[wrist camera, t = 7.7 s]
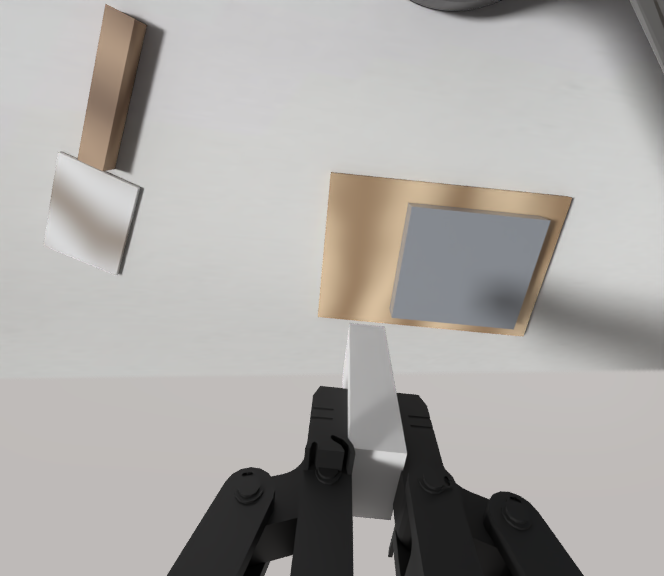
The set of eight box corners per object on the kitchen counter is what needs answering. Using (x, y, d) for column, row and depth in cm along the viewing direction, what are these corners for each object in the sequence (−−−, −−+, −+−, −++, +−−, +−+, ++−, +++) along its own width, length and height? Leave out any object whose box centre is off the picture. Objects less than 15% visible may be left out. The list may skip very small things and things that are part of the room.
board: (318, 313, 33) (317, 316, 32) (330, 172, 28) (330, 173, 27) (520, 332, 33) (523, 336, 32) (567, 196, 28) (572, 197, 27)
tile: (391, 317, 30) (513, 329, 30) (411, 206, 26) (550, 220, 26) (388, 307, 31) (504, 319, 32) (407, 201, 28) (538, 215, 28)
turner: (87, -6, 24) (70, -15, 22) (178, 41, 25) (167, 36, 23) (46, 244, 31) (32, 250, 29) (118, 273, 32) (107, 281, 30)
